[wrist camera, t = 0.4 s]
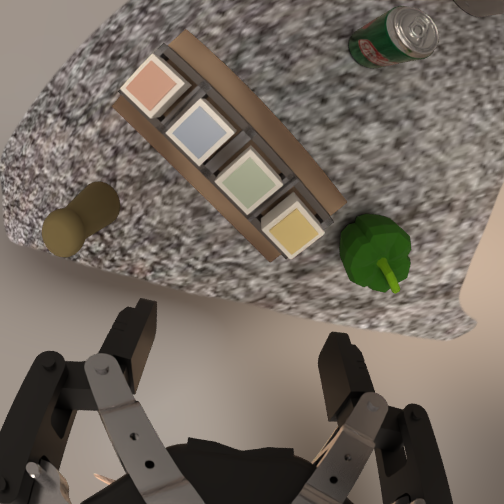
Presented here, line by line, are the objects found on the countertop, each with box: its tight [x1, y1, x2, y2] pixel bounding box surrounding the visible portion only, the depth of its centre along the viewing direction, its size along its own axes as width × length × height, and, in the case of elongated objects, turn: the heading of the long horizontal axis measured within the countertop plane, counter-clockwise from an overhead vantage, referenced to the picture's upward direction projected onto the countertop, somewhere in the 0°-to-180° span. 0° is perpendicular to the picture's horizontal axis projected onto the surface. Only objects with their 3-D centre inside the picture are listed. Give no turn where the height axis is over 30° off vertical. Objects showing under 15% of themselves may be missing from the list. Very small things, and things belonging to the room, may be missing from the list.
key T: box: [166, 98, 237, 166], centre depth 26 cm, size 4×4×3 cm
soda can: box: [349, 6, 439, 69], centre depth 21 cm, size 5×5×12 cm
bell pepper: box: [339, 214, 411, 293], centre depth 33 cm, size 8×8×10 cm
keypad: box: [112, 29, 347, 262], centre depth 31 cm, size 12×27×4 cm, turn 42°
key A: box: [215, 145, 283, 215], centre depth 28 cm, size 4×4×3 cm
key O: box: [120, 54, 192, 118], centre depth 24 cm, size 4×4×3 cm
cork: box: [42, 182, 120, 257], centre depth 31 cm, size 6×6×11 cm
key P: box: [261, 192, 325, 260], centre depth 30 cm, size 4×4×3 cm
